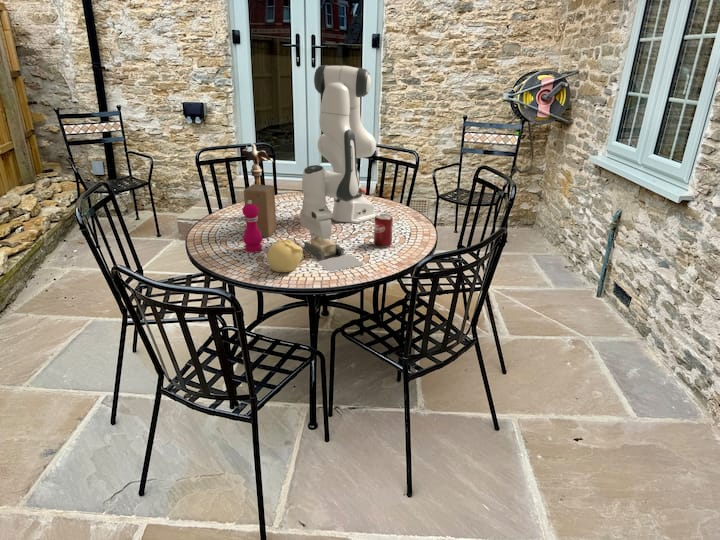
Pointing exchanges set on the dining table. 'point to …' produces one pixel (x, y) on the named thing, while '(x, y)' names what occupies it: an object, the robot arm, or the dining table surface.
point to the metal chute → (320, 254)
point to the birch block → (324, 246)
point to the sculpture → (284, 256)
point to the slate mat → (340, 263)
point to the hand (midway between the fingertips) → (315, 242)
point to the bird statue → (256, 161)
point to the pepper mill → (251, 228)
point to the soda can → (383, 230)
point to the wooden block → (263, 207)
